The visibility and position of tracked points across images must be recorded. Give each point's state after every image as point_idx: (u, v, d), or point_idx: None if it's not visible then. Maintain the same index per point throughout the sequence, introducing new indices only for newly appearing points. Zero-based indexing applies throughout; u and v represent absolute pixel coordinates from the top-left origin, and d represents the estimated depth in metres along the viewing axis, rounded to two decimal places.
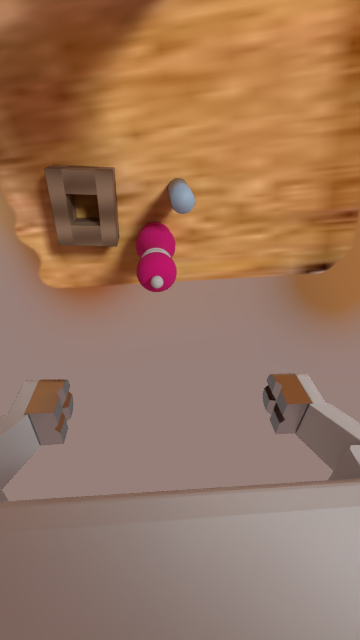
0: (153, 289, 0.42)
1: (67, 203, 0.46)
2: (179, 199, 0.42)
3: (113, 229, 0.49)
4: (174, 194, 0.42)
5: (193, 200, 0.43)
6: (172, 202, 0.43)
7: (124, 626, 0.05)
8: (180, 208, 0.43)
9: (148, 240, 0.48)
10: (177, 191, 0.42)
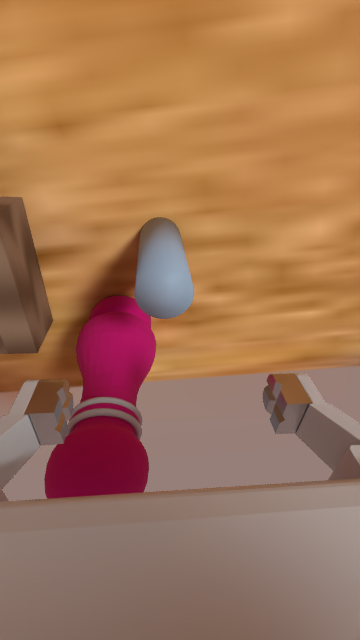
0: None
1: None
2: (154, 291, 0.17)
3: (25, 325, 0.23)
4: (142, 280, 0.16)
5: (191, 291, 0.17)
6: (138, 297, 0.17)
7: (124, 626, 0.05)
8: (160, 309, 0.18)
9: (95, 356, 0.22)
10: (149, 273, 0.16)
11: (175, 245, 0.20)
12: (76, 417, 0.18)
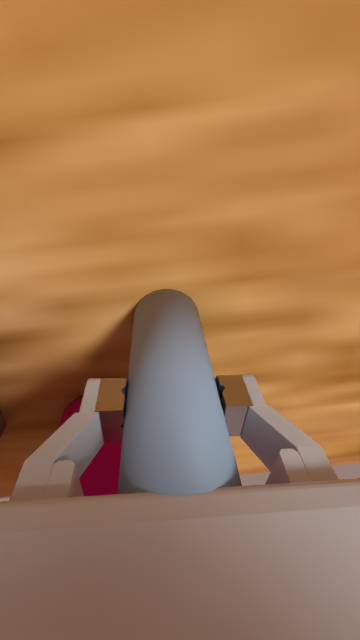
0: None
1: None
2: None
3: None
4: None
5: None
6: None
7: (124, 626, 0.05)
8: None
9: None
10: None
11: (198, 373, 0.10)
12: None
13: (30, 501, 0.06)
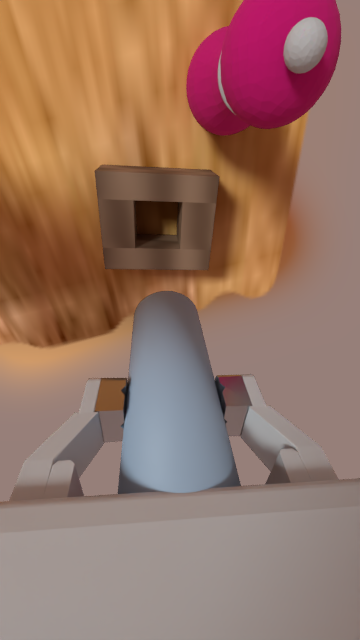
0: (326, 69, 0.14)
1: (148, 247, 0.32)
2: None
3: (188, 178, 0.28)
4: None
5: None
6: None
7: (124, 626, 0.05)
8: None
9: (209, 98, 0.22)
10: None
11: (198, 375, 0.10)
12: None
13: (30, 501, 0.06)
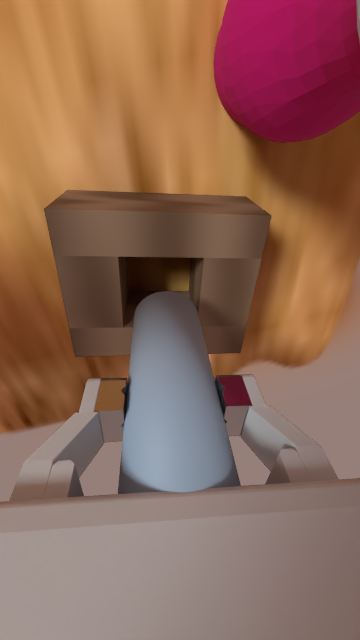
0: None
1: None
2: None
3: (215, 218, 0.15)
4: None
5: None
6: None
7: (124, 626, 0.05)
8: None
9: (280, 62, 0.10)
10: None
11: (198, 375, 0.10)
12: None
13: (30, 501, 0.06)
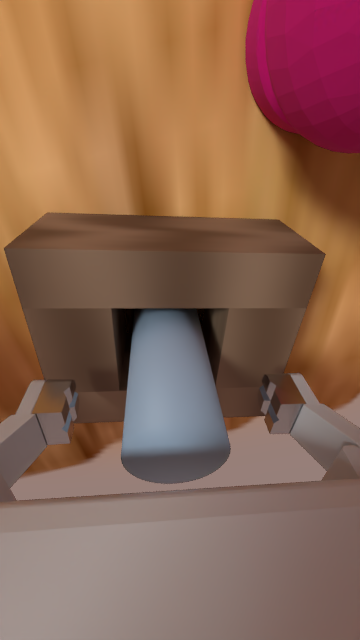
0: None
1: None
2: (157, 453, 0.09)
3: (248, 258, 0.11)
4: (134, 441, 0.09)
5: (225, 450, 0.09)
6: (128, 461, 0.09)
7: (124, 626, 0.05)
8: (167, 473, 0.10)
9: None
10: (148, 432, 0.08)
11: (191, 341, 0.12)
12: None
13: (30, 501, 0.06)
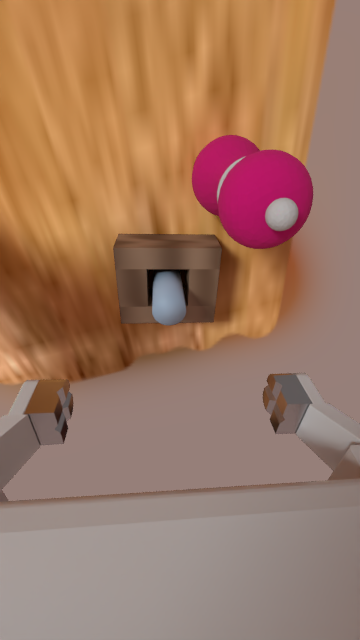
0: (301, 218, 0.17)
1: None
2: (163, 309, 0.30)
3: (194, 250, 0.31)
4: (156, 303, 0.29)
5: (184, 309, 0.30)
6: (154, 313, 0.30)
7: (125, 626, 0.05)
8: (166, 319, 0.30)
9: (211, 197, 0.26)
10: (160, 300, 0.29)
11: (175, 281, 0.32)
12: None
13: (30, 501, 0.06)
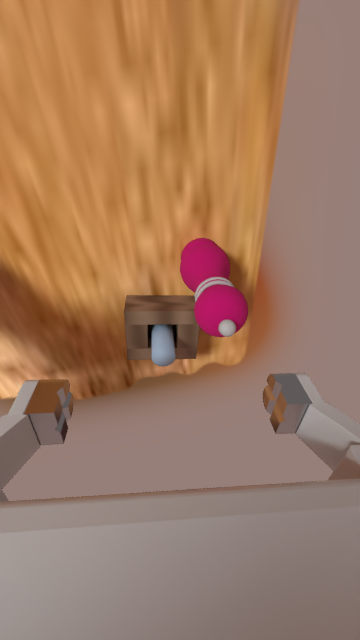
0: (240, 325, 0.30)
1: None
2: (159, 356, 0.43)
3: (181, 312, 0.44)
4: (154, 353, 0.42)
5: (174, 356, 0.43)
6: (153, 358, 0.43)
7: (124, 626, 0.05)
8: (161, 362, 0.43)
9: (192, 287, 0.39)
10: (157, 350, 0.42)
11: (168, 333, 0.45)
12: None
13: (30, 501, 0.06)
